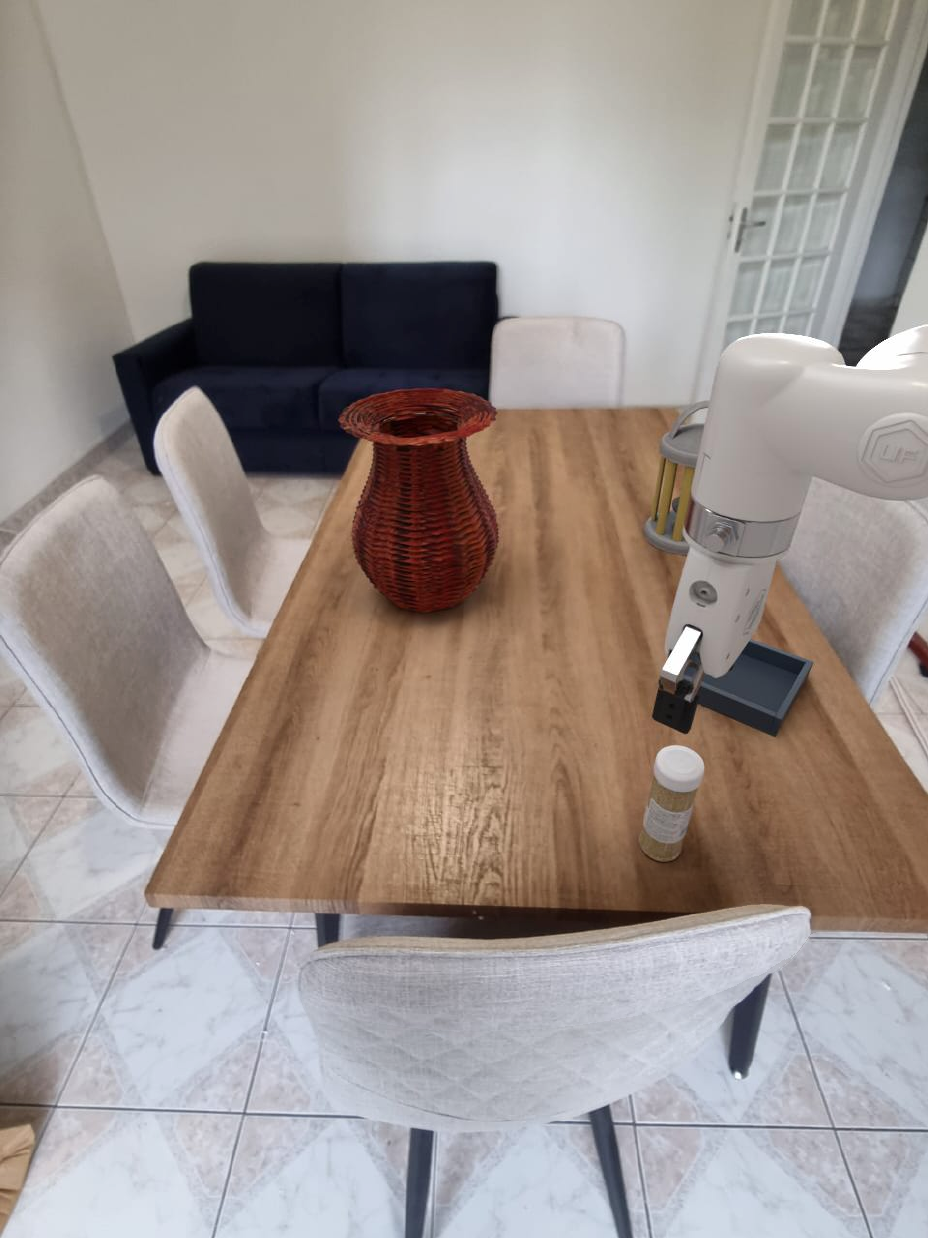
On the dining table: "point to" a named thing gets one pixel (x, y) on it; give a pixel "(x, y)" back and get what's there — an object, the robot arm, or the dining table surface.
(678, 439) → the lantern
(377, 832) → the dining table surface
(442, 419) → the vase
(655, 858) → the sprinkles bottle
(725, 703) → the tray
